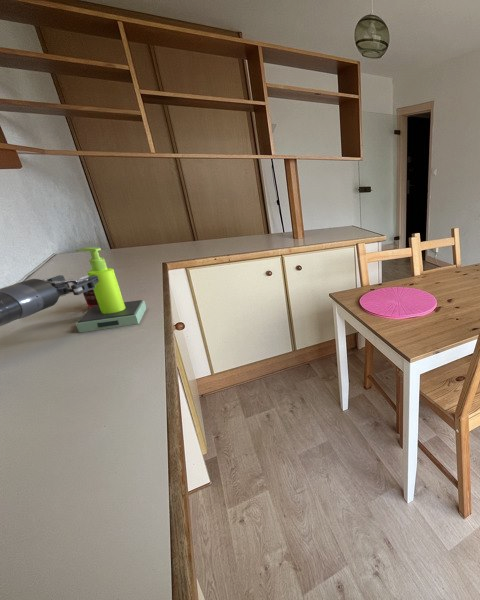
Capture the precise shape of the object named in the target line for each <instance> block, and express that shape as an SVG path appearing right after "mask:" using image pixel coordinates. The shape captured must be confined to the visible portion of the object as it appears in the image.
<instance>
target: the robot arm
mask: <svg viewBox="0 0 480 600" xmlns="http://www.w3.org/2000/svg"><path fill="white" fill-rule="evenodd" d="M79 282H80V283H79ZM98 282H99V279H98V277H97V275H92V276H90V277H87V278H84V279H80V280H78V279H74V278H69V279H66V278H65V276H64V275H60V274H59V275H56V276H53V277H50V278H42V279H40V278H30V279H27V280H24V281H21V282H17V283H14V284H11V285H8V286H4V287H1V288H0V327H3V326H5V325H7V324H11V323H12V322H15V321H17V320H20V319H25V318H27V317H29V316H32V315H34V314H37V313H39V312H41V311H43V310H46V309H48V308H51V307H53V306H55V305H56V304H57V303H58V301H59V298H61V297H65V296H67V295H71V294H73V296H79V295H82V294H83V293H84V292H87V291H90V290H92V289H95V288H96V287H95V284H96V283H98ZM70 283H71V285H70Z"/></svg>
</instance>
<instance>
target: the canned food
mask: <svg viewBox="0 0 480 600" xmlns="http://www.w3.org/2000/svg"><path fill="white" fill-rule="evenodd" d="M87 277H89V276H88V275H85V276H82V277H79V278H78V279H77V280H80V279H84V278H87ZM79 283H80V282H79ZM82 294H83V297H84V301H85V303H86V306H87V308H88V310H89V309H90V307H92V306H96V305H99V304H98V302H97V299H96V296H95V293H94V290H93V289H92V290H90V291H87V292H84V293H82Z"/></svg>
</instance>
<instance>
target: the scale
mask: <svg viewBox="0 0 480 600" xmlns="http://www.w3.org/2000/svg"><path fill="white" fill-rule="evenodd" d="M124 304H125V309H124V310H122V311H119V312H116V313H109V314H104V313H101V310H100V307H99V305H96V306H92V307H90V309H89V308H88V310H86V311H85V313H84V314H83V315H82V316H81V317H80V318H79V319H78V320H77V321H76V322H75V326H76V328H77V331H78V333H87V332H93V331H100V330H108V329H114V328H120V327H121V328H122V327H127V326H133V325H139V324H140V322H141V320H142V318H143V316H144V314H145V312H146V310H147V305H146V302H145V300H142V299H139V300H130V301H124Z"/></svg>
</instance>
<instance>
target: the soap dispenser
mask: <svg viewBox="0 0 480 600" xmlns="http://www.w3.org/2000/svg"><path fill="white" fill-rule="evenodd" d="M76 251H77V252H89V254H91V258H90V259H89V260H88V262H89V264H90V267H91V269H90V270H88V271H87V276H89V277H90V276H92V275H97V277H98V279H99V282H98V283H96V284H95V287H96V288H95V289H93V290H94V293H95V296H96V299H97V302H98V304H99V307H100V310H101V313H104V314H109V313H116V312H119V311H122V310H124V309H125V304H124V302H125V301H124V298H123V295H122V292H121V289H120V285H119V282H118V279H117V277H116V273H115V270H114V268H112V267H108V266H107V262H106V260H105V258H104V257H101V256H100V253H99V251H102V248H101V247H92V246H91V247H83V248H80V249H76Z"/></svg>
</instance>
